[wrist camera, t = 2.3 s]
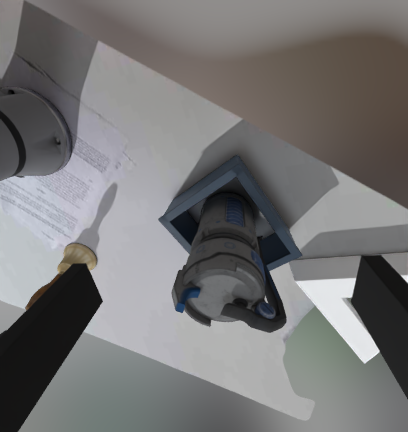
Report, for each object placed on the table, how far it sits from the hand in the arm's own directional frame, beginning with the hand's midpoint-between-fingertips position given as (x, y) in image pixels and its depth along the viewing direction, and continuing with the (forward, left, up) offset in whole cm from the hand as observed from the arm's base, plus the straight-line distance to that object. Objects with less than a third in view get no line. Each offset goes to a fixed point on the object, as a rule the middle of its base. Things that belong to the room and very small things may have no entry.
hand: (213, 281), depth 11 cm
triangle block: (+38, +4, -33) cm, 50 cm away
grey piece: (+11, -7, -33) cm, 35 cm away
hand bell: (0, -44, -33) cm, 55 cm away
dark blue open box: (+11, -7, -33) cm, 35 cm away
